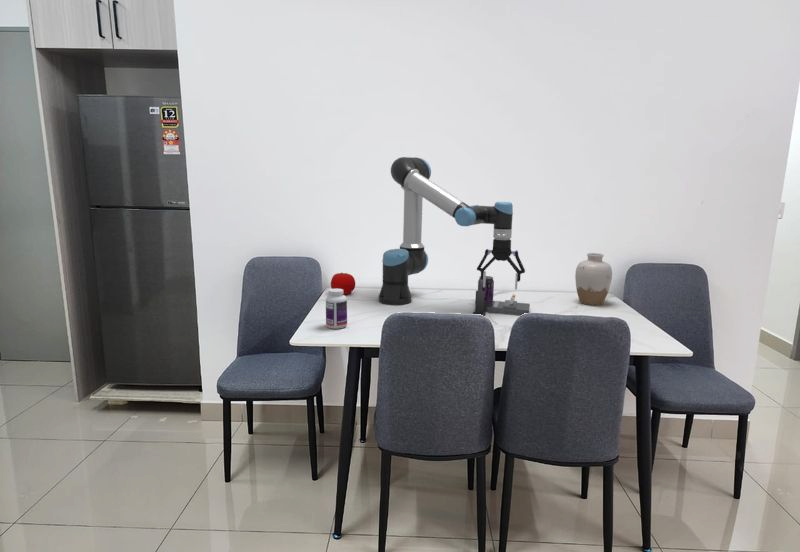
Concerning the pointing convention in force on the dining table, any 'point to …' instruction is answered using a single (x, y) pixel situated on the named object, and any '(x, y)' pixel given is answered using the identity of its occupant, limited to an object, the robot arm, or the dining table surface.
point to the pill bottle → (336, 309)
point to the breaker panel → (506, 307)
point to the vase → (593, 279)
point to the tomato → (343, 282)
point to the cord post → (479, 303)
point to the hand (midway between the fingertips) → (499, 287)
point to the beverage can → (487, 287)
